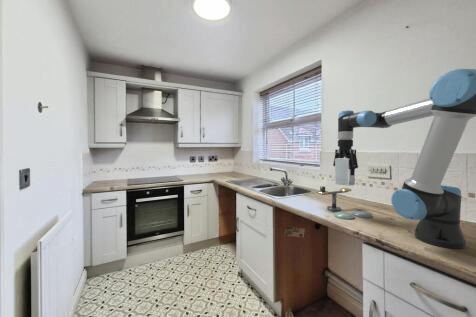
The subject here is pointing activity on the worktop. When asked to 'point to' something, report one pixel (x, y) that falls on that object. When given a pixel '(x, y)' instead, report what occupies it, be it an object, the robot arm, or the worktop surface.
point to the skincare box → (342, 172)
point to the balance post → (334, 204)
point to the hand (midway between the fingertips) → (344, 180)
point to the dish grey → (362, 214)
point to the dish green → (344, 215)
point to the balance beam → (342, 190)
